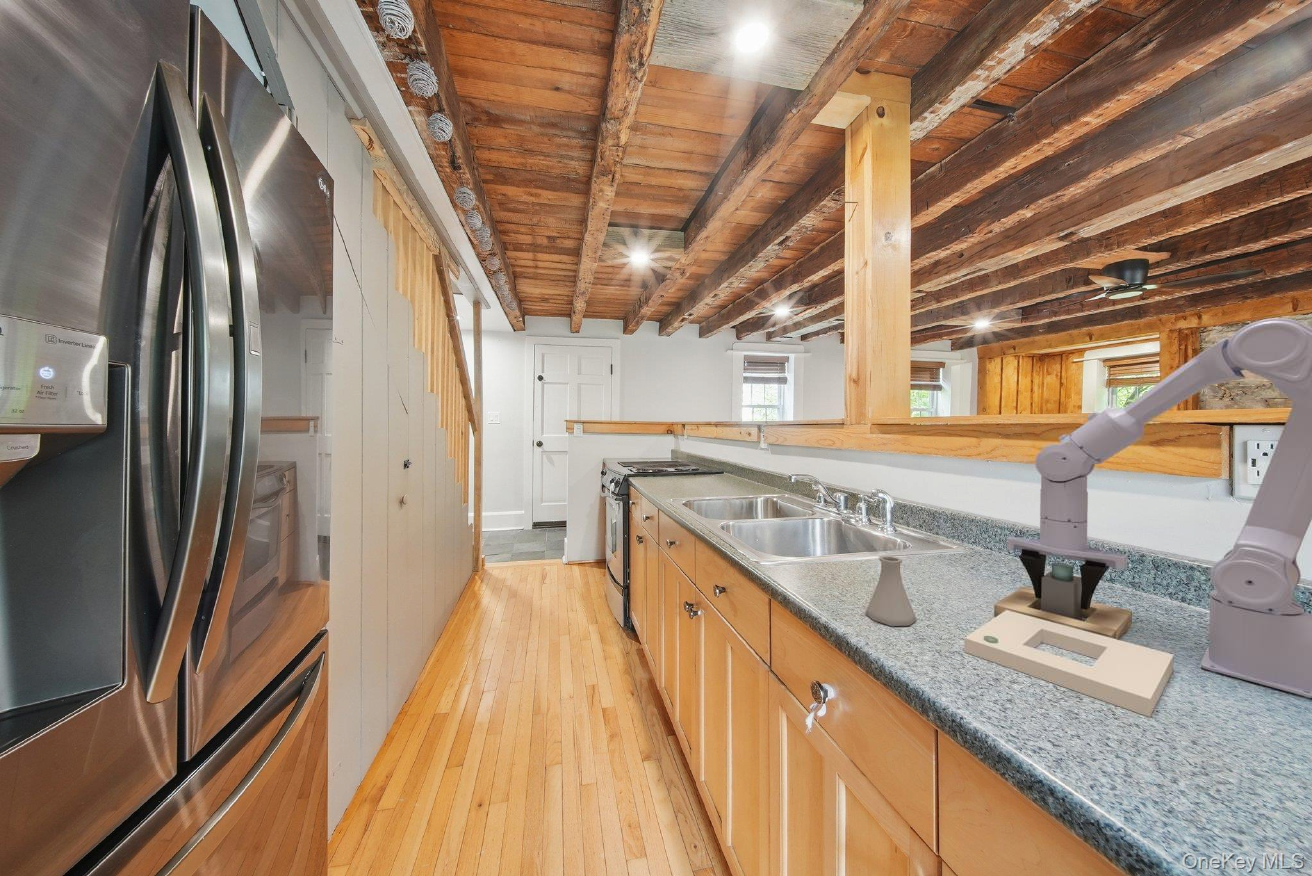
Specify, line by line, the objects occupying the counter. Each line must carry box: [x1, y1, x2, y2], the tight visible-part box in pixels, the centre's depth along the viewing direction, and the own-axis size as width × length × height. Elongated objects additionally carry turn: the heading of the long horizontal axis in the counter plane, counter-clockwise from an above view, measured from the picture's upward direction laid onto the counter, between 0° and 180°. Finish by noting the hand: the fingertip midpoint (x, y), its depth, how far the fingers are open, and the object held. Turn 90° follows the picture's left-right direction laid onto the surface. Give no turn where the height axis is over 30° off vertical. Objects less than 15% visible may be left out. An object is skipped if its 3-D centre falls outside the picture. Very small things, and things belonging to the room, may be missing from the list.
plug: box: [1040, 562, 1083, 621], centre depth 75 cm, size 4×5×9 cm
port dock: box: [963, 610, 1175, 718], centre depth 62 cm, size 18×16×2 cm
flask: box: [864, 555, 918, 627], centre depth 76 cm, size 7×7×10 cm
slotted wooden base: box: [993, 585, 1133, 640], centre depth 75 cm, size 14×14×2 cm
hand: (1061, 602), depth 75 cm, fingers open, 5 cm apart
